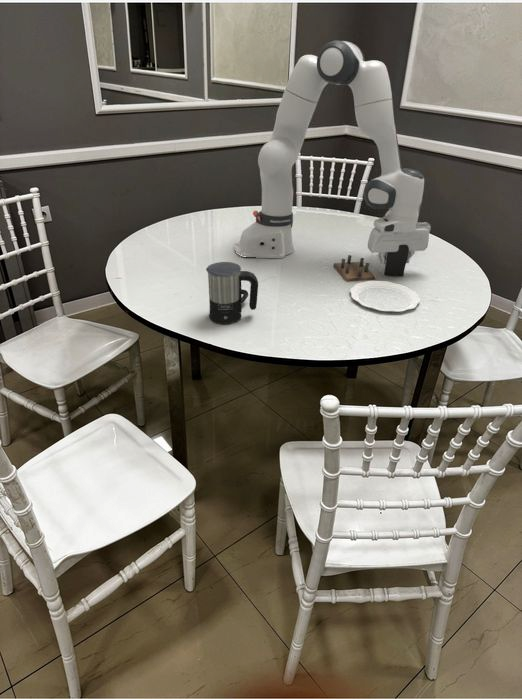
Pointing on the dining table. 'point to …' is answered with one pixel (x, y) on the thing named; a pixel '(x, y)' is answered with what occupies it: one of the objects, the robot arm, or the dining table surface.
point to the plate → (388, 285)
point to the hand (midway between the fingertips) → (394, 263)
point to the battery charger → (396, 261)
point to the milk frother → (229, 291)
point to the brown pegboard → (354, 270)
